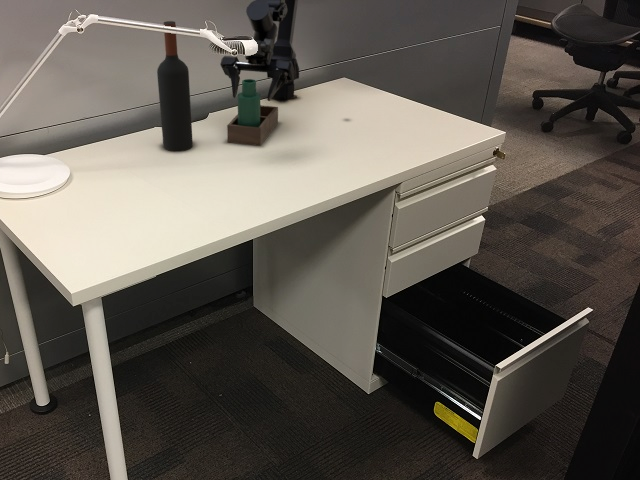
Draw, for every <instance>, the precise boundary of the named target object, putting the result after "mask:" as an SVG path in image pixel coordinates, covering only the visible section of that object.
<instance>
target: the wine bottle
mask: <svg viewBox="0 0 640 480" xmlns="http://www.w3.org/2000/svg"><path fill="white" fill-rule="evenodd" d="M163 25H165V26H171V27H176V28H177V25H176V21H173V20H168V21H164V22H163ZM163 35H164V48H165V58H164V59H163V60H162V61H161V63H160V64H159V65H158V67H157V70H156V74H157V75H156V76H157V88H158V98H159V99H158V101H159V111H160V123H161V124H160V125H161V133H162V134H161V135H162V136H161V137H162V146H163V149H164V150H166V151H168V152H173V153H174V152H184V151H188V150H191V149H192V148H193V145H194V143H193V142H194V141H193V125H192V124H193V123H192V108H191V107H192V105H191V91H190V89H191V88H190V72H189V67H188V65H187V64H186V63H185V62H184V61H183V60H182V59H180V58H179V54H178V42H177V40H178V39H177V33H176V34H171V33H164V32H163Z"/></svg>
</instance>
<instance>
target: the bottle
mask: <svg viewBox="0 0 640 480" xmlns="http://www.w3.org/2000/svg"><path fill="white" fill-rule="evenodd" d="M261 98H262V97H261V93H260V92H257V80H256V79H252V78H247V79H246V78H245V79H243V80H242V81H241V92H239V93H237V114H238V125H241V126H251V127H259V126H260V105H261Z"/></svg>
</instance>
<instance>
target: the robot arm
mask: <svg viewBox="0 0 640 480" xmlns="http://www.w3.org/2000/svg"><path fill="white" fill-rule="evenodd" d="M298 2H299V0H253V1H251V2H250V3H249V4H248V5H247V7H246V16H247V20H248V22H249V24H250V27H251V29H252V31H254V33H253V37H252V40H253V39H254V40H255V41H256V42H257V44H258V51H257V53H256V54H254V55H251V56H246V55H245V56H244V59H245V61H247V62H243V61H242V62H241V61H240V60H239V58H238V56H234V55H223V57H221V59H220V63H219V65H220V67H221V69H222V71H223V73H224V75H225V76H227V77H228V79H230V83H231V92H232V97H233V98H234V99H236V97H237V96H238V90H239V85H240V80H241V77H240V75H241V71H243V72H257V73H266V77H267V79H271V82H270V85H269V88H268V91H267V98H266V100H267V101H268V102H270V101H271V100H275V101H278V102H280V103H282V102H283V103H284V102H287V101H290V100H294V99H297V98H298V95H296V94H295V81H296V80H298V79H300V67H299V62H298V59H297V53H296V51H295V48H294V46H293V41H294V33H295V26H296V25H295V23H296V17H297V10H298V4H299V3H298ZM275 22H278V26H277V24H276V23H275Z"/></svg>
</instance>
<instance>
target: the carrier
mask: <svg viewBox="0 0 640 480" xmlns="http://www.w3.org/2000/svg"><path fill="white" fill-rule="evenodd" d="M278 124H279V107H278V106H272V105H262V104H260V126H259V127H251V126H241V125H238V113H237V114H236V115H235V116H234V117H233V118H232V119H231V120H230V122H229V123H227V125H226V130H227V134H226V135H227V143H232V144H239V145H240V144H241V145H250V146H259V147H261V146H262V144H263V143H264V142H265V141H266V139H267V138H268V137H269V135H270V134H271V133H272V132H273V131H274V129H275V128H276V127H277V125H278Z"/></svg>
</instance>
